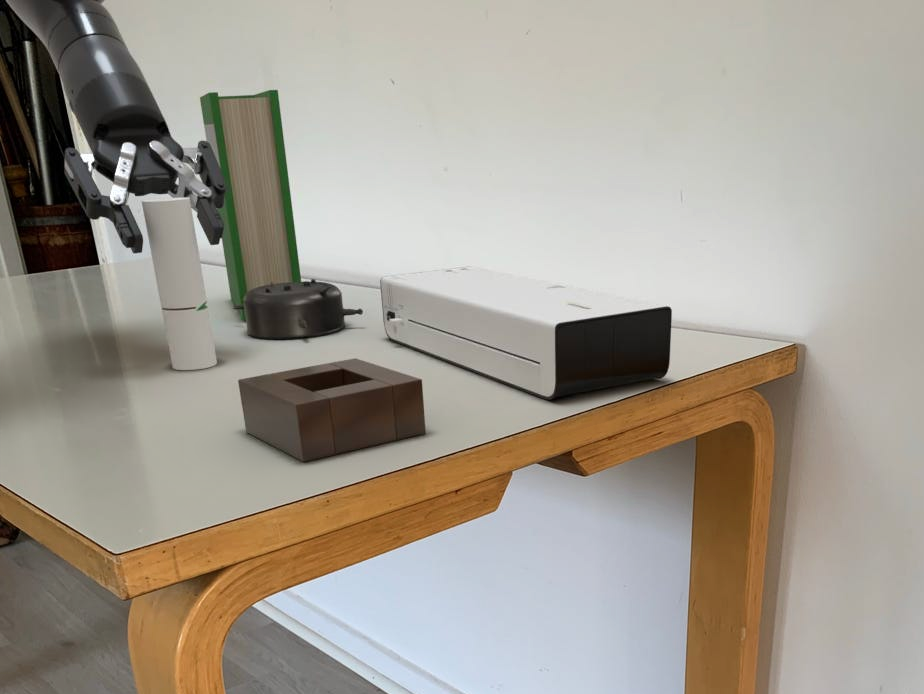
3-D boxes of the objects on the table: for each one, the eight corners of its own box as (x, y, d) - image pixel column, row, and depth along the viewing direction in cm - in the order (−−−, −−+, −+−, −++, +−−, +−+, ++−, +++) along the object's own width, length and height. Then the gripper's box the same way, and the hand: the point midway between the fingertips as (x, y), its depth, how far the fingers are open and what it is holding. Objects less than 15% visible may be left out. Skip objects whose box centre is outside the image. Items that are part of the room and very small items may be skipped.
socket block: (303, 462, 68) (295, 404, 66) (245, 432, 75) (237, 379, 73) (426, 433, 73) (422, 379, 71) (360, 407, 80) (355, 357, 78)
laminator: (669, 382, 83) (672, 305, 80) (545, 406, 78) (543, 325, 75) (476, 324, 110) (474, 265, 107) (375, 339, 105) (369, 278, 102)
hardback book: (305, 315, 120) (277, 89, 108) (243, 321, 118) (209, 92, 107) (286, 295, 135) (260, 94, 123) (231, 300, 133) (199, 97, 122)
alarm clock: (372, 324, 112) (276, 322, 121) (365, 274, 110) (268, 275, 119) (301, 343, 104) (205, 338, 114) (293, 289, 102) (195, 289, 111)
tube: (185, 372, 95) (154, 202, 88) (164, 366, 98) (133, 200, 91) (225, 364, 97) (198, 198, 90) (203, 358, 100) (176, 197, 93)
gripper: (34, 70, 87) (102, 220, 84) (190, 67, 94) (258, 206, 91) (35, 138, 94) (98, 280, 91) (181, 131, 101) (244, 262, 98)
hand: (178, 242), depth 91 cm, fingers open, 7 cm apart
